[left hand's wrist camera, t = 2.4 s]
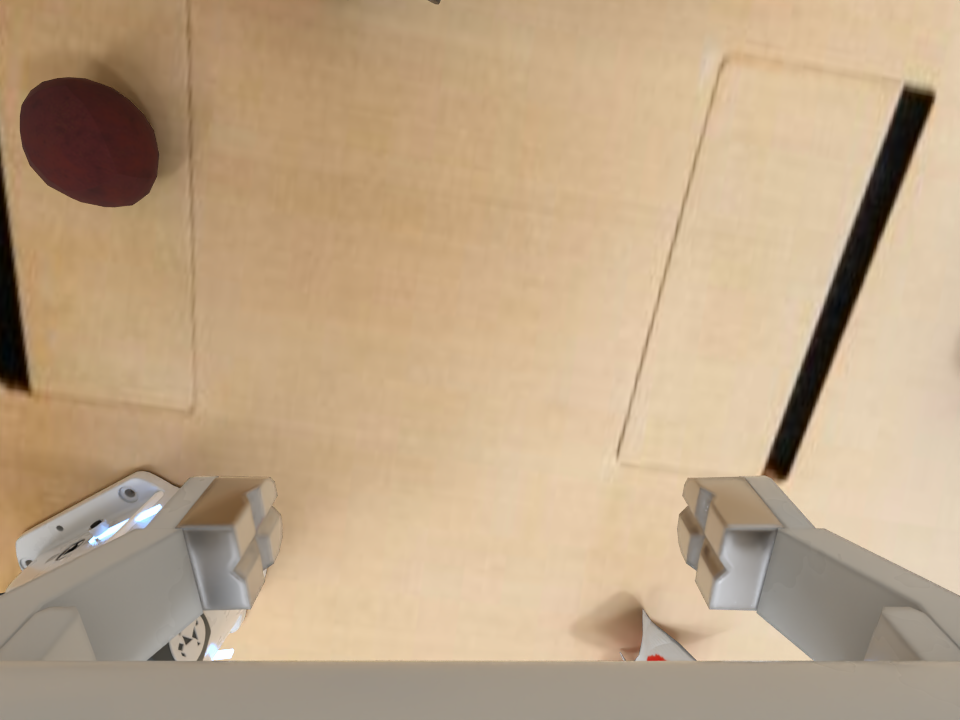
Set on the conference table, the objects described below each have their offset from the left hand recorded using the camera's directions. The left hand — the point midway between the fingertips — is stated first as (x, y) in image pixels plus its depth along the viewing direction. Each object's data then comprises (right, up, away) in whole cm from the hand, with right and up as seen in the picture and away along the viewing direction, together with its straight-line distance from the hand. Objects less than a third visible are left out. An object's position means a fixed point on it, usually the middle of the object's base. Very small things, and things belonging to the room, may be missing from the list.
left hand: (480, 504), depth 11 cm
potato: (-25, +18, +27) cm, 40 cm away
